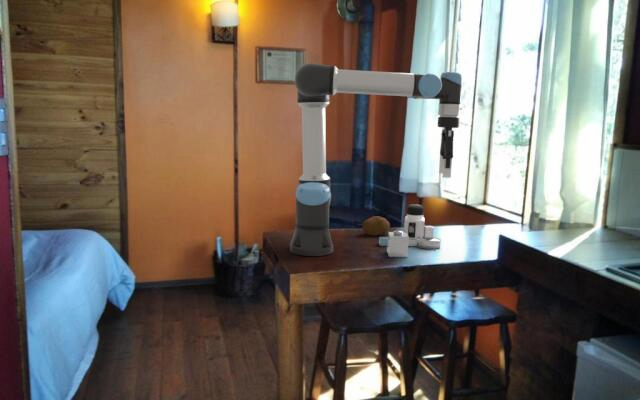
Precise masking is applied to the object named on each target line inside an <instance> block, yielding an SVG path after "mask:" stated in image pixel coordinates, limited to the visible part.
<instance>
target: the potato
mask: <svg viewBox="0 0 640 400" xmlns="http://www.w3.org/2000/svg"><path fill="white" fill-rule="evenodd" d="M390 226H391V224H390V221H388V220H387V218H385V217H382V216H378V215H376V216H372V217H369V218H367V219H365V220H363V222H362V232H363V233H364V234H365V235H368V236H381V235H382V236H383V235H385V234H387V233H388V232H389V229H390Z"/></svg>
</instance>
